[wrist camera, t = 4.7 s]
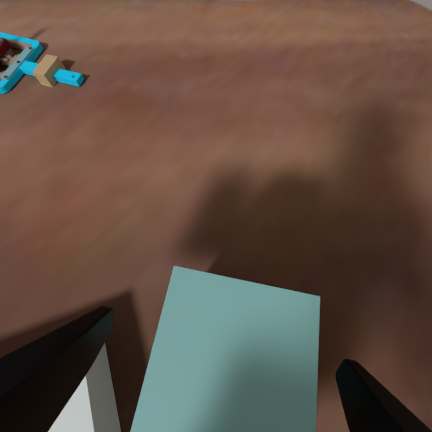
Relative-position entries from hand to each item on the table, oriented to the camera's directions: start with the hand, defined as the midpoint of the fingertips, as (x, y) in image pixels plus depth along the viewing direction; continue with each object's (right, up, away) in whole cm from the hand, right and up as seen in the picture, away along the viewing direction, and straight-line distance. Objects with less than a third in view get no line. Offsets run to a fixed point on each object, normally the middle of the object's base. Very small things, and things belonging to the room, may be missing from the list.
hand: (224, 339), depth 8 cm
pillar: (0, -3, +8) cm, 9 cm away
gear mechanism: (-25, +21, +17) cm, 37 cm away
